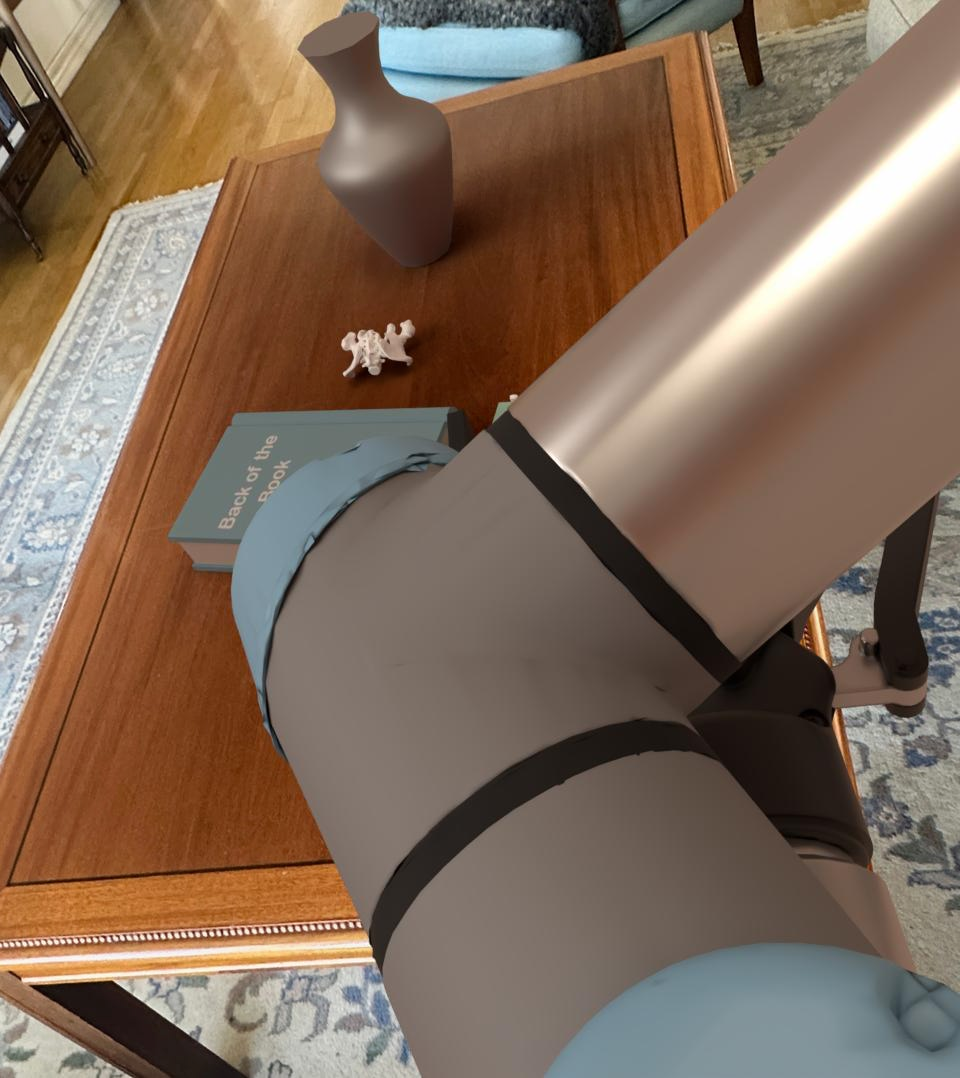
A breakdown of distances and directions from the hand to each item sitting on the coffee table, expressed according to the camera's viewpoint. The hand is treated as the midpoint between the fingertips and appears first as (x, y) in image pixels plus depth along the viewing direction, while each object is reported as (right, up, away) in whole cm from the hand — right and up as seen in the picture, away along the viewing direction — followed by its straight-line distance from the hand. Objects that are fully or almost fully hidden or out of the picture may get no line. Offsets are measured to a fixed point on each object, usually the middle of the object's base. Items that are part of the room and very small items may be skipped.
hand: (619, 391), depth 41 cm
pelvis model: (-16, +12, +60) cm, 63 cm away
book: (-19, -3, +49) cm, 53 cm away
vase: (-12, +27, +71) cm, 77 cm away
